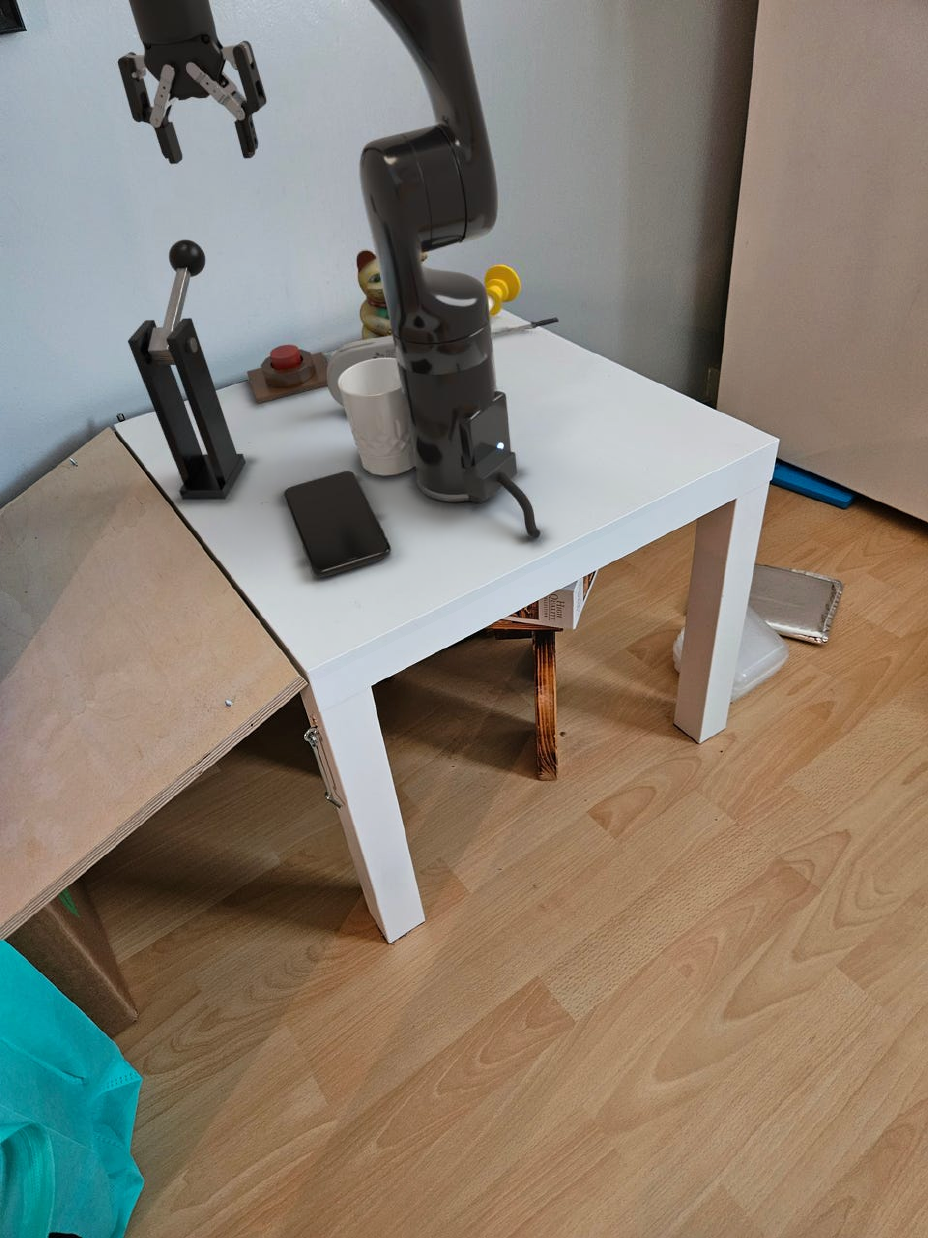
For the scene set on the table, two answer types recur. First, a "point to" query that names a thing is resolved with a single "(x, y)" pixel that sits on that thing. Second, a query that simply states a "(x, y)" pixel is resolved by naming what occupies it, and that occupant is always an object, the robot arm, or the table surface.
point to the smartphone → (336, 524)
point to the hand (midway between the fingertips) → (213, 158)
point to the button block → (288, 377)
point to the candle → (501, 286)
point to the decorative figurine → (373, 296)
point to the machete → (527, 326)
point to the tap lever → (176, 296)
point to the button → (285, 357)
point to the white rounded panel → (356, 359)
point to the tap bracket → (196, 469)
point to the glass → (377, 415)
